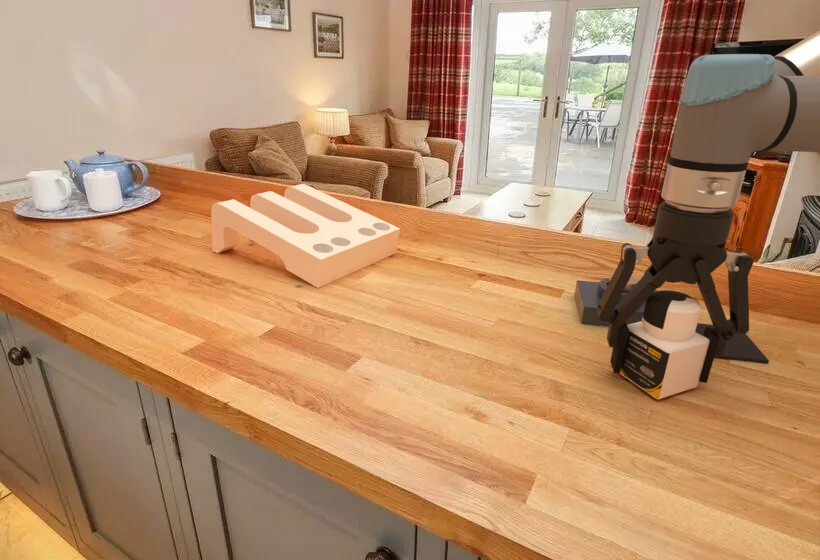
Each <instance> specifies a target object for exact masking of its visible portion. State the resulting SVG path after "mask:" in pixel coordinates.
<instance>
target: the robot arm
mask: <svg viewBox="0 0 820 560" xmlns="http://www.w3.org/2000/svg"><path fill="white" fill-rule="evenodd" d="M678 105H679V106H678V107H679V109H678V114H677V119H676V124H675V129H674V134H673V139H672V145H671V149H670V155H669V157H668V163H667V167H666V171H665V177H664V181H663V185H662V189H661V194H660V195H661V198H662V199H663V200H664V201H662V202H661V203H660V204H659V205H658V210H657V214H656V218H655V224H654V229H653V234H652V237H651V239H650V241H649V242H648V243H647V245H632V244H631V243H629V242H625V243H623V244H622V245H621V250H620V251H621V252H620V261H619V262H618V264H617V266H616V268H615V270H614V272H613V274H612V275H613V276H612V278H611V280H610V282H609V284H608V286H607V288H606V290H605V292H604V294H603V296H602V298H601V300H600V302H599V304H598V306H597V313H598V316H599V319H600V320H601V321H607V322H609V327H608V328H607V335H606V340H607V344H608V347H609V348H612V351H611V356H610V361H609V362H610V366H611V369H612V371H613V373H614V374H619V373H620V370H621V365H622V360H623V355H624V351H625V346H626V341H627V336H628V331H629V329H628V326H627V324H626V321H627V320H628V319H629V318H630V317H631V316H632V315H633V314H634V312H635V311H636V310H637V309H638V308H639V307H640V306H641V305H642V304H643V303H644V302H645V300H646V299H647V298H648V297H649V296H650V295H651V294H652V293H653V292H654V291H655V290H656V291H657V289H659V288H661V287H662V286H663V285H664V284H665V283H672V284H673V283H674V284H675V283H684V284H688V285H696V284H697V287H698V289H699V292H700V295H701V297H702V300H703V302H704V305H705V307H706V311H707V314H708V315H709V318H710V321H711V325H713V326H714V329H713V328H711V327H705V330H704V334H703V336H704V337H706V338H708V339H709V340H710V343H709V347H708V350H707V354H706V358H705V361H704V365H703V368H702V372H701V375H700V379H699V383H701V384H703V383H704V384H707V383H708V380H709V376H710V373H711V370H712V366H713V362H714V360H715V359H718V358H720V357H721V356H722V355H723V352H724V349H725V345H726V342H727V340H731V339H732V338H733V337H734V333H740V334H746V335H747V334H748V333H749V332H750V308H749V307H750V306H749V304H750V303H749V275H750V273H751V270H752V267H753V265H754V259H753V257H751V256H750V255H748V254H747V253H746V252H745V251H743V250H741V249H740V250H739V249H738V250H736V251H727V249H726V245H727V242H728V239H729V235H730V231H731V229H732V228H731V227H732V224H733V220H734V217H735V213H734V211H733V210H732V208H733V207H735V206H736V205H737V204H738V202H739V198H740V194H741V192H742V186H743V183H744V179H745V176H746V173H747V169H748V165H749V162H750V158H751V156H752V153H753V152H795V153H796V152H800V153H803V152H804V153H820V30H818V31H816V32H814V33H813V34H811V35H809V36H807V37H806V38H804V39H802V40H801V41H799V42H797V43H795V44H793V45H792V46H789V48H786V49H785V50H783V51H782V52H779V53H777V54H776V55H775V56H773V55H771V54H766V53H765V54H760V53H755V54H754V53H723V54H722V53H721V54H704V55H701V56H699V57H697V58H696V59H694V60H693V62H692V63H691V64H690V66H689V69H688V72H687V75H686V77H685V81H684V85H683V88H682V92H681V96H680V98H679V101H678ZM646 257H648V259H649V261H650V263H651V264H650V265H649V266H648V267H647V268H646V269H645V271H644V273H643V276H642V277H641V278H640V279H638V280H639V281H638V283H637V284H636V285H635V286H634V287H633V288H632V289H631V290H630V292H629V293H628V294H627V295H626V296H625V297H624V298H623V299H622V300H621V302H620V303H619V304H618V305H617V306H616V304H617V302H618V300H619V298H620V296H621V295H622V293H623V291H624V289H625V287H626V285H627V283H628V281H629V279H630V277H631V276H633V273H634V271H635V268H636V266H637V265H640V264H641V263H642V260H643V259H644V258H646ZM724 263H725V264H724ZM722 264H724V265H725V268H726V269H727V280H728V281H727V283H728V284H727V285H728V305H729V307H728V308H729V319H727V317H726V314H725V312H724V311H725V310H724V308H723V306H722V302H721V300H720V297H719V295H718V292H717V290H716V288H717V287H716V285H715V282H714V279H713V276H712V273H713V272H714V271H716V270H717V269H718V268H719V267H720V266H721V265H722ZM615 306H616V307H615Z"/></svg>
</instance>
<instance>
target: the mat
mask: <svg viewBox="0 0 820 560" xmlns="http://www.w3.org/2000/svg"><path fill="white" fill-rule="evenodd" d="M705 327H711V328H713V329H714V326H713V324H712V323H711V324H710V323H702V322H701V323H700V322H698V323H697V326H696V330H695V332H696V333H698V334H700V335H702V336H703V334H704V330H705ZM717 359H720V360H727V361H728V360H729V361H737V362H739V361H740V362H747V363H755V364H756V363H758V364H764V365H766V364H767V365H768V364H769V362H770V360H769V359H768V357H767V356H766V355H765V354H764V353H763V352H762V351H761V349H760V348H759V347H758V345H756V344H755V342H754V341H753V340H752V338H750V337H749V336H748V335H747V333H746V334H740V333H734V337H733V338H732V339H731V340H727V342H726V345H725V349H724V352H723V355H722V356H721V357H720V358H717Z"/></svg>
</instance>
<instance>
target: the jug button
mask: <svg viewBox="0 0 820 560" xmlns="http://www.w3.org/2000/svg"><path fill="white" fill-rule="evenodd" d="M612 276H613V274H611V275H609V278H610V280H611V278H612ZM610 280H609V282H610ZM639 280H640V279H638V277H635V276H633V275H631V277H630V279H629V281H628V283H627V285H626V287H625V289H624V291H623V292H626V293H629V292H630V290H631V289H632V288H633V287H634V286H635V285H636V284H637V283H638V281H639Z"/></svg>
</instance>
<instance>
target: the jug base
mask: <svg viewBox="0 0 820 560" xmlns="http://www.w3.org/2000/svg"><path fill="white" fill-rule="evenodd" d="M609 280H610V277H607V278H602V279H601V280H600V281H592V280H591V281H590V280H577V279H576V282H575V287H574V300H575V304H576V309H577V313H578V316H579V320H580V324H581V325H588V326H598V327H606V328H607V327H608V328H609V322H607V321H601V320H600V319H599V316H598V313H597V306H598V304H599V302H600V300H601V298H602V296H603V294H604V292H605V290H606V288H607V286H608V284H609ZM655 291H657V289H656V290H655ZM655 291H654V292H655ZM627 294H628V293H626V292H623V293H622V295H621V296H620V298H619V300H618V302H617V304H616V306H617V305H618V304H619V303H620V302H621V300H622V299H623V298H624V297H625V296H626V295H627ZM645 302H646V300H645ZM645 302H644V303H643V304H642V305H641V306H640V307H639V308H638V309H637V310H636V311H635V312H634V314H633V315H632V316H631V317H630V318H629V319H628V320H627V321H626V324H627V325H629V324H633V323H637V322H641V321H642V316H643V312H644V307H645ZM616 306H615V307H616Z"/></svg>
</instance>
